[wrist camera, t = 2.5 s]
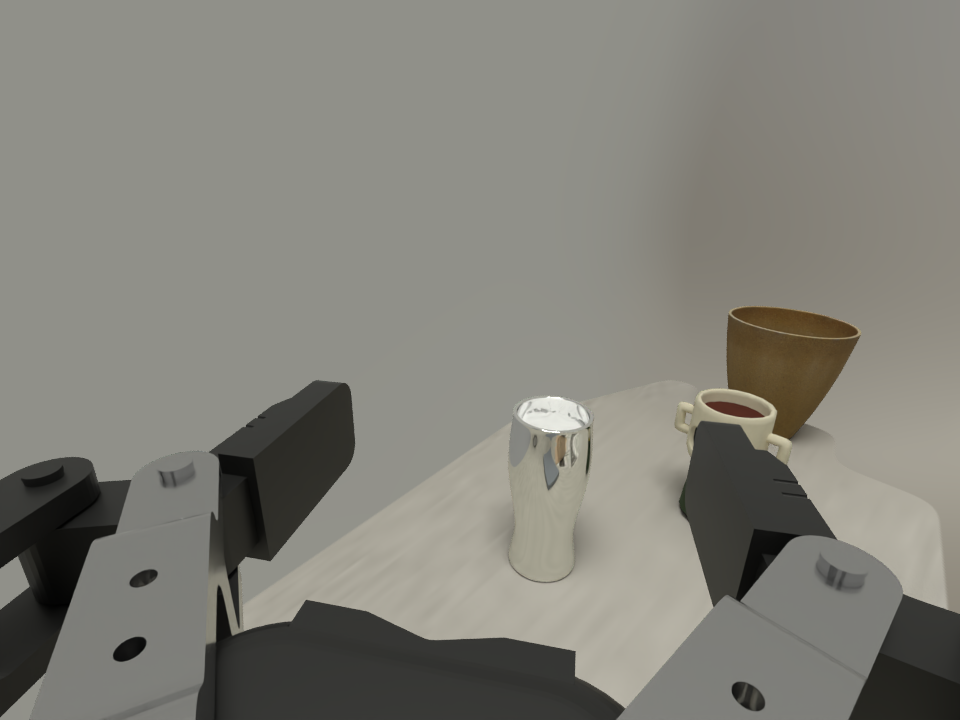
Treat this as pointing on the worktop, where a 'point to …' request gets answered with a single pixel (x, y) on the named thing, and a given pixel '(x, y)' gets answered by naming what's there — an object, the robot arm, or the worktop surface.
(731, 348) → the plant pot
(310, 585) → the worktop surface
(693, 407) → the character mug
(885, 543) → the worktop surface
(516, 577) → the worktop surface
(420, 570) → the worktop surface
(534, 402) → the beer glass
